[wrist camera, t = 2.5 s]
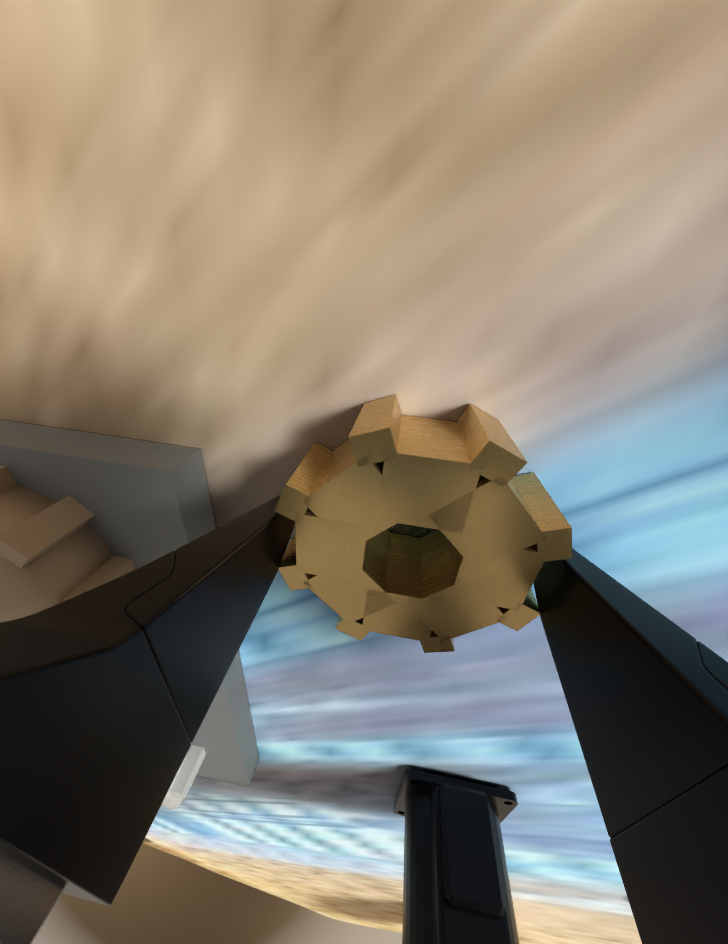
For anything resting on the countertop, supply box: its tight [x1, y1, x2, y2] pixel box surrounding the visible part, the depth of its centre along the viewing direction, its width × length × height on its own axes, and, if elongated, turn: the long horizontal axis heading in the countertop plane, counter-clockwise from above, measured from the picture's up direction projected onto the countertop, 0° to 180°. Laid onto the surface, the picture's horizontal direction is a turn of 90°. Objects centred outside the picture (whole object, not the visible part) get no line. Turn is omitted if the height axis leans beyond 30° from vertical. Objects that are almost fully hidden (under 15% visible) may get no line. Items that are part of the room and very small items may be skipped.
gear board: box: [0, 420, 259, 809], centre depth 14 cm, size 24×12×6 cm, turn 175°
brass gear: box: [274, 395, 572, 653], centre depth 9 cm, size 7×7×2 cm
